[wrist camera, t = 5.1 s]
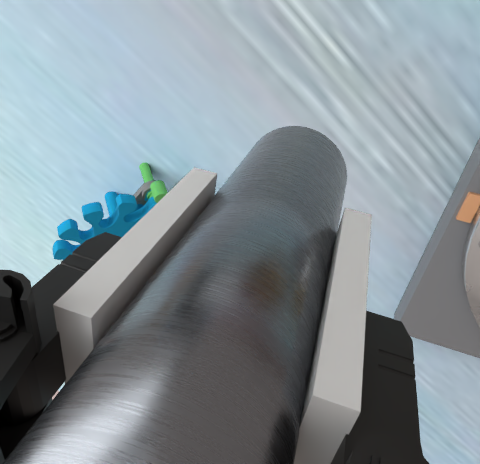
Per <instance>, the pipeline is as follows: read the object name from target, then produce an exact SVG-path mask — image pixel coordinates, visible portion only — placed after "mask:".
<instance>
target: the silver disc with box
mask: <svg viewBox="0 0 480 464" xmlns="http://www.w3.org/2000/svg"><path fill="white" fill-rule="evenodd" d="M462 270H463V282H464V286H465V290H466V293H467V297H468V301H469V304H470V308H471V311H472V313H473V315H474V317H475V319H476V321H477V324H478V325H479V327H480V207H479V208H478V210H477V212H476V214H475V216H474V219H473V221H472V223H471V225H470V228H469V230H468V234H467V238H466V241H465V245H464V251H463V261H462Z"/></svg>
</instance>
